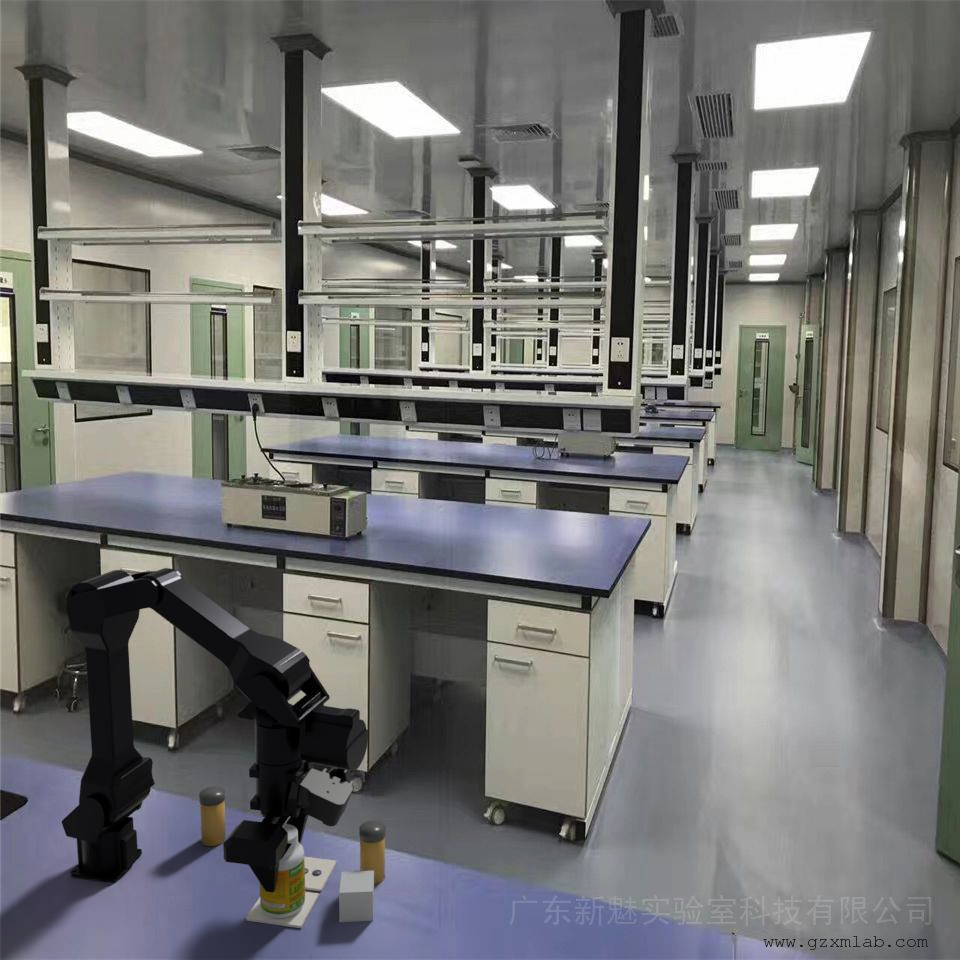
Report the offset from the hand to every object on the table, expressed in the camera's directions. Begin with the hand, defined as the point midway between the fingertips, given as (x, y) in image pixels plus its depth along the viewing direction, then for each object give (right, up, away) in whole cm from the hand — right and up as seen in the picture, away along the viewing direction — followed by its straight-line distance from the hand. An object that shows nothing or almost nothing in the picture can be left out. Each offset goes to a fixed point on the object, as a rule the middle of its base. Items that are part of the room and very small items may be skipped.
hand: (282, 872), depth 102 cm
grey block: (+9, -5, +1) cm, 10 cm away
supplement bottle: (0, -5, +1) cm, 5 cm away
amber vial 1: (-13, -2, +14) cm, 19 cm away
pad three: (+1, -4, +7) cm, 8 cm away
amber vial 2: (+10, -4, +7) cm, 13 cm away
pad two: (0, -5, +1) cm, 5 cm away
